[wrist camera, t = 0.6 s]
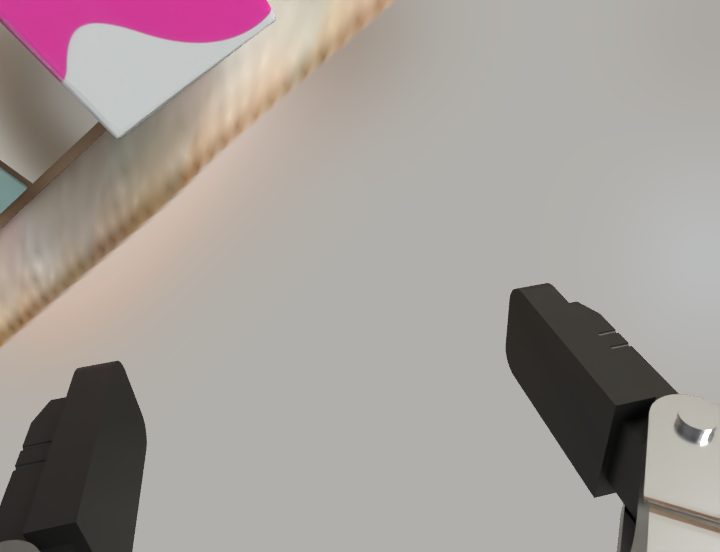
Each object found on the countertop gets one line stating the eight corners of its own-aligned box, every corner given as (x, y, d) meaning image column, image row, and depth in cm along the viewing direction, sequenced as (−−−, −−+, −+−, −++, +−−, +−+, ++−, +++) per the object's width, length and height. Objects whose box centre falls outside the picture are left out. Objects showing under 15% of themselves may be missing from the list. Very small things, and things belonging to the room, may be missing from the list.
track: (-42, 264, 29) (-47, 273, 28) (-232, 153, 24) (-243, 161, 23) (403, -152, 23) (409, -152, 22) (270, -402, 18) (273, -411, 18)
